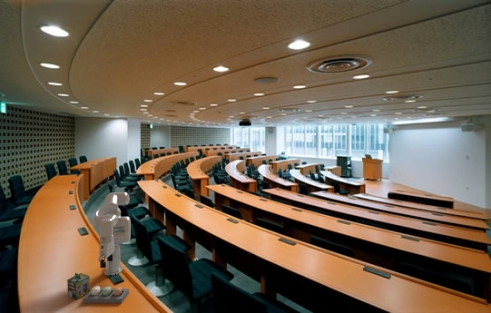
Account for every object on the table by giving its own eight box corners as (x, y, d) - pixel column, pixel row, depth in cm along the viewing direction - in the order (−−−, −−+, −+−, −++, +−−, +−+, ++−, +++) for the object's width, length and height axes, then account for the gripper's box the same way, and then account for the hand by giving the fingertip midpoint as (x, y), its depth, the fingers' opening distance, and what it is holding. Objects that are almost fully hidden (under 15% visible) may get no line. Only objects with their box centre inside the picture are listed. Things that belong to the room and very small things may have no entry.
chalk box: (90, 292, 161) (90, 271, 160) (76, 300, 152) (75, 278, 151) (81, 288, 164) (81, 267, 163) (67, 296, 156) (66, 274, 155)
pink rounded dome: (112, 296, 154) (112, 291, 153) (115, 292, 158) (115, 286, 158) (119, 297, 154) (119, 291, 153) (123, 292, 158) (123, 286, 158)
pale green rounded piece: (101, 296, 153) (100, 290, 153) (105, 292, 158) (105, 286, 158) (108, 296, 153) (108, 291, 153) (112, 292, 158) (112, 286, 158)
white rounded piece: (89, 296, 153) (89, 290, 153) (94, 291, 158) (94, 286, 157) (97, 296, 153) (97, 290, 153) (101, 291, 158) (101, 286, 158)
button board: (83, 302, 150) (83, 298, 150) (92, 292, 160) (92, 288, 160) (121, 303, 151) (121, 298, 151) (128, 293, 161) (128, 288, 161)
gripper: (105, 244, 144) (105, 271, 146) (119, 232, 162) (119, 257, 163) (92, 243, 144) (92, 271, 145) (107, 232, 161) (107, 257, 163)
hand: (106, 264), depth 154 cm, fingers open, 7 cm apart
